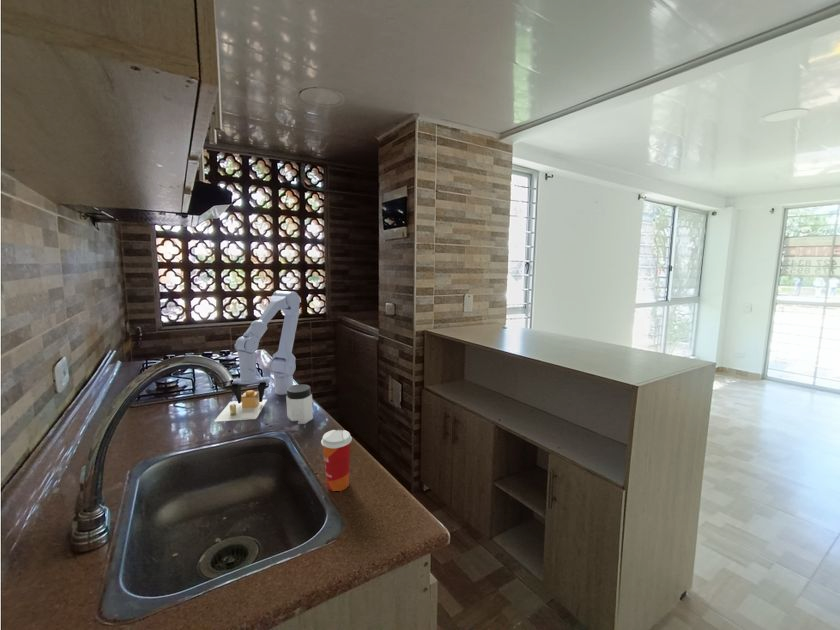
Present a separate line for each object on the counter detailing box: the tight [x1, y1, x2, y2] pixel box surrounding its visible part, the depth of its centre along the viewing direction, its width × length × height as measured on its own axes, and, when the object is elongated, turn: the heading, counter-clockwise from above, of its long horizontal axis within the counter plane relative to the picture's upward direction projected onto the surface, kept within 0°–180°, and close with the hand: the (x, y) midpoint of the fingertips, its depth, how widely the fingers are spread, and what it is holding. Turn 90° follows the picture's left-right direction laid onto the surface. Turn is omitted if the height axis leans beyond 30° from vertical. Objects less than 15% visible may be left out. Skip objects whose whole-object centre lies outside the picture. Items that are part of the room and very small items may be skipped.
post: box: [230, 404, 237, 416], centre depth 136 cm, size 2×2×4 cm
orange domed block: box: [241, 389, 259, 408], centre depth 145 cm, size 5×5×6 cm
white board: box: [213, 399, 268, 423], centre depth 141 cm, size 18×14×2 cm
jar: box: [285, 383, 314, 425], centre depth 135 cm, size 9×8×12 cm
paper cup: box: [320, 429, 353, 492], centre depth 97 cm, size 8×8×14 cm
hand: (250, 401), depth 145 cm, fingers open, 7 cm apart
